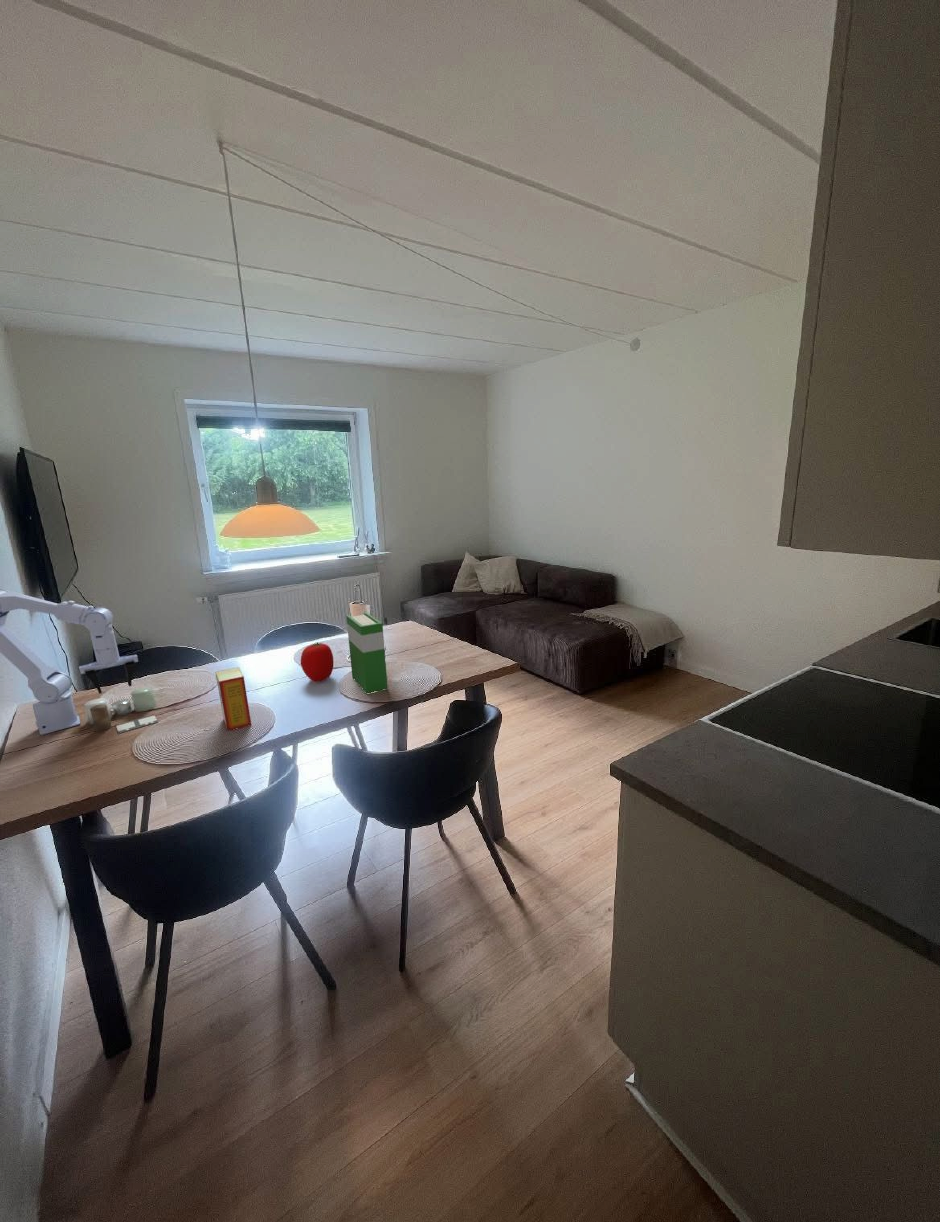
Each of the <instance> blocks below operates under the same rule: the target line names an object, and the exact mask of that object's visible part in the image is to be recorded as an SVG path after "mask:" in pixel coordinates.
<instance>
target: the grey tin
mask: <svg viewBox="0 0 940 1222" xmlns="http://www.w3.org/2000/svg"><path fill="white" fill-rule="evenodd" d="M111 706H112V707H111V708H112V710H113V711H112V712H113V714H114V716H116V717H122V716H126V715H129V714H130V713H132V712H133V708H132V704H131V699H121V700H118V701H115V702H113V703H112V704H111Z"/></svg>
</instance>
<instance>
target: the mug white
mask: <svg viewBox="0 0 940 1222" xmlns="http://www.w3.org/2000/svg"><path fill="white" fill-rule="evenodd" d="M101 704H106V705H107V709H108V713H109V717H110V720H112V719H113V714H112V709H111V705H110V701H109V698H107V697H106V698H105V697H101V698H95V699H92V700H89V701H87V702H85V704H84V709H85V712H86V718H87V720H88V724H90V725H94V723H93V719H92V715H91V711H90V708H92V707H94V706H96V705H101Z"/></svg>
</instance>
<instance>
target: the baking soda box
mask: <svg viewBox="0 0 940 1222" xmlns="http://www.w3.org/2000/svg"><path fill="white" fill-rule="evenodd" d="M215 677H216V683H217V688H218V689H217V690H218V694H219V696H218V697H219V701H220V707H221V713H222V717H223V721H224V725H225V727H226V730H227V732H230V731H229V730H231V731H234V730H233V729H235V730H237V729H236V728H238V729H242V728H245V726H246V727H249V726H248V725H250V726H252V719H251V713H250V706H249V701H248V695H247V689H246V681H245V677H244V674H243V672H242V670H241V668H240V667H239V666H237V667H233V668H232V667H231V668H227V669H224V670H217V671H215Z"/></svg>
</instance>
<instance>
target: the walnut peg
mask: <svg viewBox="0 0 940 1222" xmlns="http://www.w3.org/2000/svg"><path fill="white" fill-rule="evenodd" d="M90 711H91V715H92V719H93V723H94V724H93V726H94V731H95V732H96V733H100V732H105V731H108V730H109V729H111V728H112V726H113V725H112V721H111V719H110V717H109V713H108V709H107V705H106V704H101V705H96V706H94V707H92V708H90Z"/></svg>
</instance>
